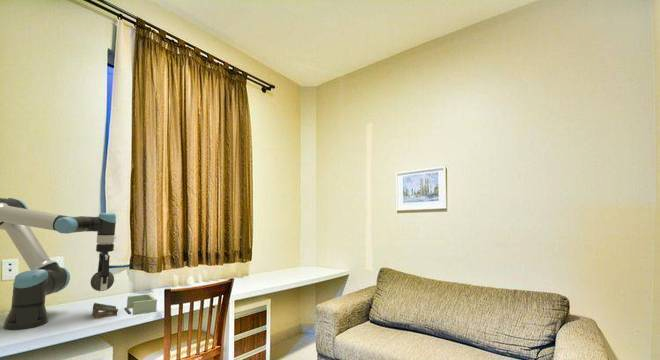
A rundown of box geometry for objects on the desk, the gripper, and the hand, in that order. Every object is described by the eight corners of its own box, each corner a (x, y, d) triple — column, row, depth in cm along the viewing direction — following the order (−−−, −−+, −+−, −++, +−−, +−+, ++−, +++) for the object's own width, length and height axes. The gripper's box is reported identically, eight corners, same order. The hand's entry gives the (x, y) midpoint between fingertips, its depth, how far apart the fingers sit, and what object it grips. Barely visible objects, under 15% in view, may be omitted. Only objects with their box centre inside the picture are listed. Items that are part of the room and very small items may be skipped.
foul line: (128, 314, 178) (128, 312, 178) (124, 309, 186) (124, 307, 186) (131, 313, 179) (131, 312, 179) (126, 308, 187) (126, 307, 187)
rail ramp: (94, 318, 169) (95, 306, 170) (91, 314, 176) (92, 302, 177) (118, 315, 176) (119, 303, 176) (115, 311, 183) (116, 299, 183)
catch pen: (133, 314, 177) (134, 302, 178) (126, 307, 189) (127, 296, 189) (156, 311, 184) (156, 299, 185) (148, 304, 196) (149, 293, 196)
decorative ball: (84, 292, 172) (86, 271, 173) (102, 288, 181) (103, 268, 182) (101, 293, 169) (103, 272, 170) (118, 289, 179) (119, 269, 180)
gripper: (118, 245, 171) (114, 291, 169) (110, 241, 189) (106, 283, 187) (100, 245, 167) (96, 293, 165) (93, 242, 184) (90, 285, 182)
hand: (101, 288), depth 176 cm, fingers closed on decorative ball, 10 cm apart
